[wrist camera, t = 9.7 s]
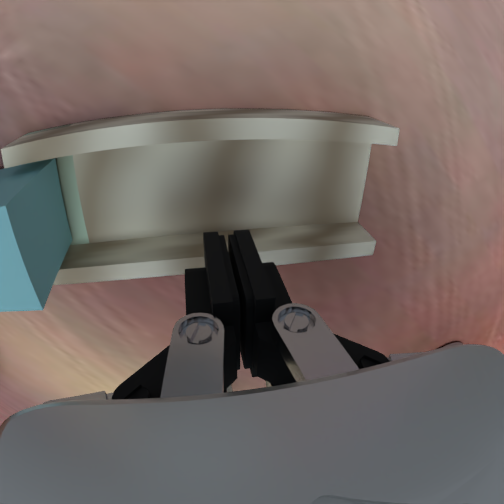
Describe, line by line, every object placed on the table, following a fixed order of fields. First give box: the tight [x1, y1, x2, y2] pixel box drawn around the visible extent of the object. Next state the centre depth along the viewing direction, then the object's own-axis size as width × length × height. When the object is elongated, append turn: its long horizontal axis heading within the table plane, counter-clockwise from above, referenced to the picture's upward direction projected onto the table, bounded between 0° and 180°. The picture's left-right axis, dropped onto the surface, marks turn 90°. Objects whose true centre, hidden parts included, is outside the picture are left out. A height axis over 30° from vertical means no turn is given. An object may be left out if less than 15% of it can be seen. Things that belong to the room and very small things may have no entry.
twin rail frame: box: [1, 109, 400, 285], centre depth 16 cm, size 20×8×3 cm, turn 88°
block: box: [0, 158, 72, 312], centre depth 12 cm, size 5×5×6 cm
